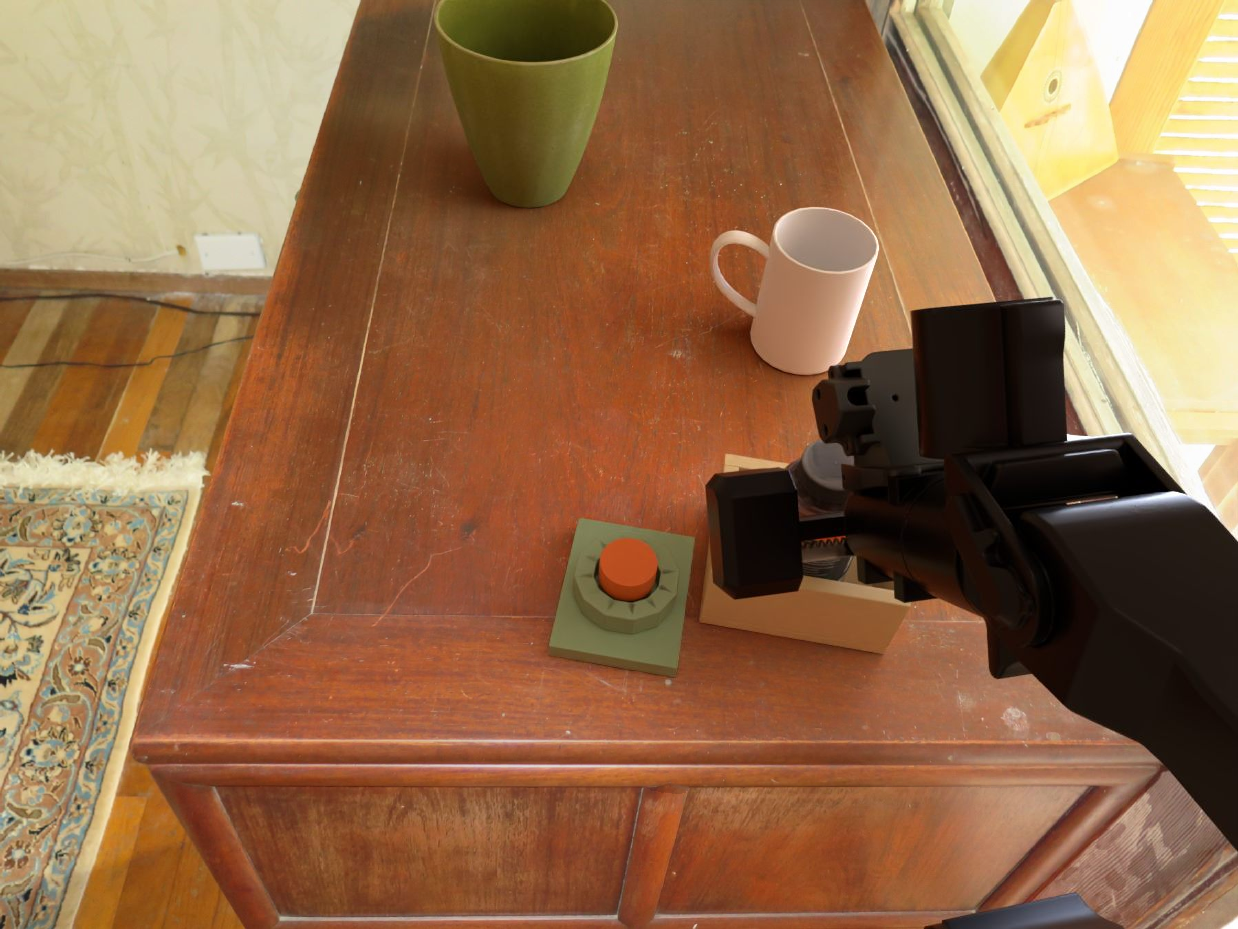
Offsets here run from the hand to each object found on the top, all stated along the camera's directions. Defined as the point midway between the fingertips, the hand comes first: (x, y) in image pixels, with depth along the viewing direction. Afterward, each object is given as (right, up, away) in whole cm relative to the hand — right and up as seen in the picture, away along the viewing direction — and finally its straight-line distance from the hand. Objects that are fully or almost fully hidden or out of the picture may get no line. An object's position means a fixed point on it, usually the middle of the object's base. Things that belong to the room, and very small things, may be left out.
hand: (826, 497), depth 59 cm
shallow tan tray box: (-1, -6, +7) cm, 9 cm away
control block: (-12, -7, +5) cm, 15 cm away
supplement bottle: (-1, -5, +7) cm, 9 cm away
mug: (0, +12, +22) cm, 25 cm away
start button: (-12, -5, +3) cm, 13 cm away
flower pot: (-21, +28, +34) cm, 49 cm away
